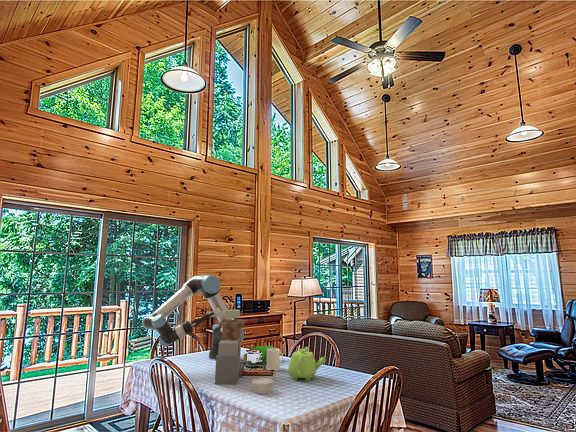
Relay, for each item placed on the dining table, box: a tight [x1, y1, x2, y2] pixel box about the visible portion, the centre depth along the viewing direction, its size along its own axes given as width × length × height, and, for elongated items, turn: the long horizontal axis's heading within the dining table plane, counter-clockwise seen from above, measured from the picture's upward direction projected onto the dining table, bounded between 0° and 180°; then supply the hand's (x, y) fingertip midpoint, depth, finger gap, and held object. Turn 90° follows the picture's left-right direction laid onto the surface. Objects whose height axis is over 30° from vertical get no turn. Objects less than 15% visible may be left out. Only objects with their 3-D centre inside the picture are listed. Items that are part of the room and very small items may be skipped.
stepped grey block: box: [214, 340, 241, 385], centre depth 209 cm, size 12×12×21 cm
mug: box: [266, 347, 284, 372], centre depth 237 cm, size 12×8×12 cm
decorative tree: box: [243, 345, 278, 363], centre depth 257 cm, size 11×12×30 cm
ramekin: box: [251, 377, 274, 395], centre depth 191 cm, size 11×11×5 cm
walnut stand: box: [218, 318, 246, 378], centre depth 227 cm, size 14×20×30 cm
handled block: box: [205, 309, 241, 319], centre depth 230 cm, size 20×8×4 cm, turn 93°
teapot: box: [288, 346, 327, 382], centre depth 219 cm, size 25×22×16 cm
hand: (219, 309), depth 230 cm, fingers closed on handled block, 3 cm apart
